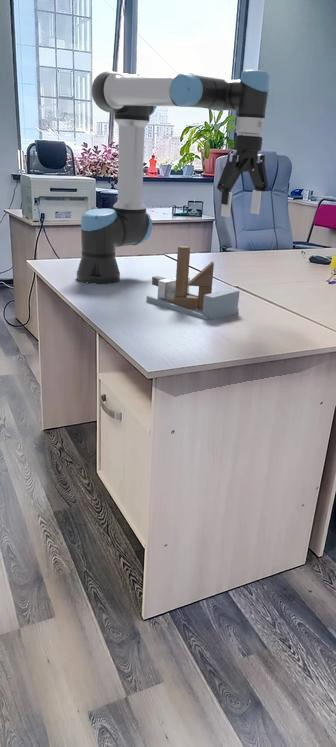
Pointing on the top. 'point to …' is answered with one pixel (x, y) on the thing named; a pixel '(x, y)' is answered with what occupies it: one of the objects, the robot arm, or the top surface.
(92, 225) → the robot arm
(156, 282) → the sliding jaw
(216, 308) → the vise base
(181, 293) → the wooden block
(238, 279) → the top surface
